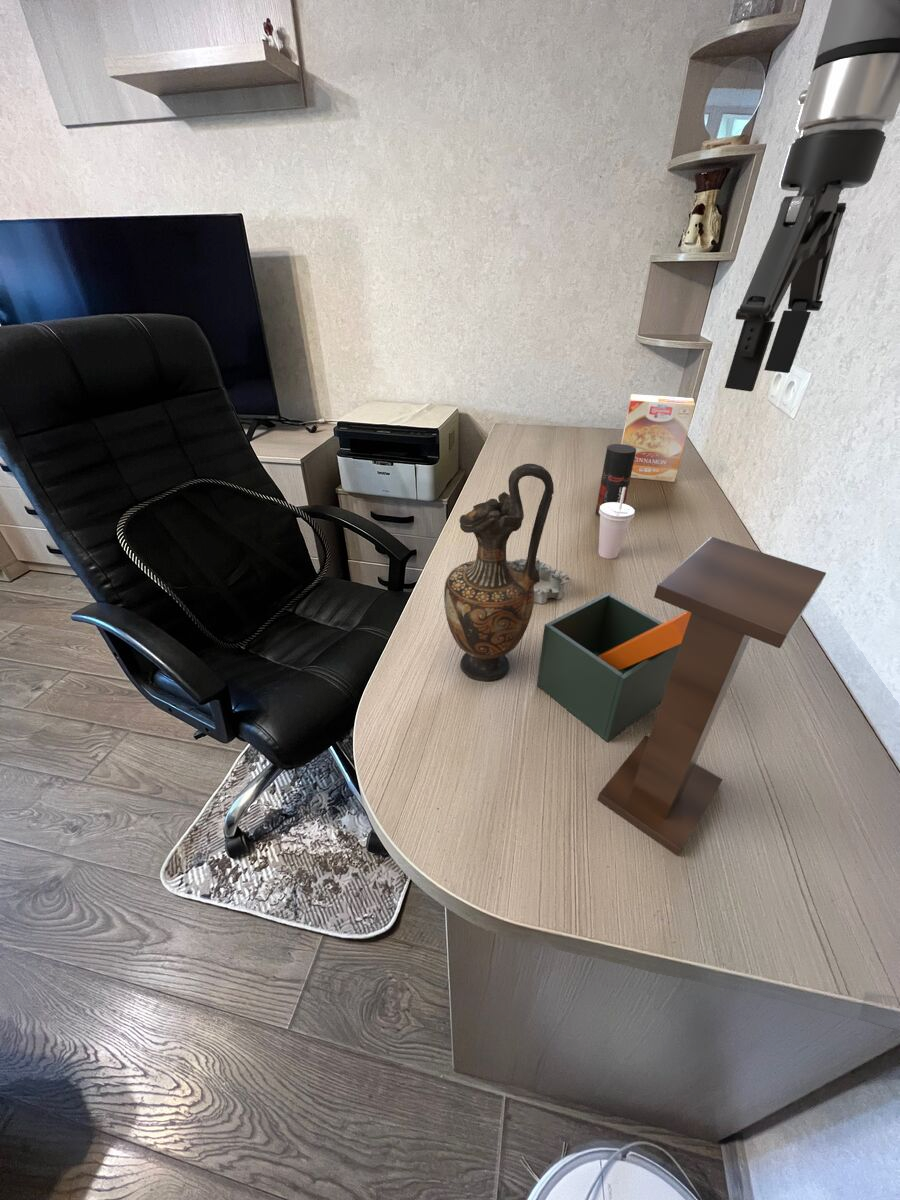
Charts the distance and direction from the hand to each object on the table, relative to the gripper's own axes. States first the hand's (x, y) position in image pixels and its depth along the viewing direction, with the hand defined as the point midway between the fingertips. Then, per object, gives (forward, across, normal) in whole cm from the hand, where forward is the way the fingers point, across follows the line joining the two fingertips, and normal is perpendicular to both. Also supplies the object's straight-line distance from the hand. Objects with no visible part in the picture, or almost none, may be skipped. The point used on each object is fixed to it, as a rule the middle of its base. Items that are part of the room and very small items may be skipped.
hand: (758, 380), depth 58 cm
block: (+29, +21, +2) cm, 36 cm away
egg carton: (+37, +6, -23) cm, 44 cm away
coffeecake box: (+37, -59, -34) cm, 78 cm away
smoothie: (+37, -14, -20) cm, 44 cm away
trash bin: (+37, +21, -2) cm, 42 cm away
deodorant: (+37, -30, -29) cm, 56 cm away
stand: (+37, +30, +11) cm, 49 cm away
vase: (+37, +28, -16) cm, 49 cm away
